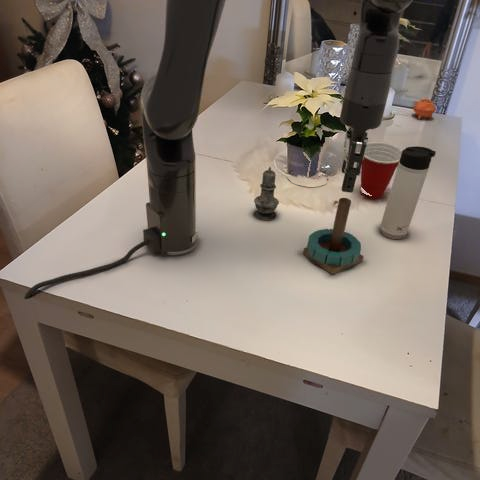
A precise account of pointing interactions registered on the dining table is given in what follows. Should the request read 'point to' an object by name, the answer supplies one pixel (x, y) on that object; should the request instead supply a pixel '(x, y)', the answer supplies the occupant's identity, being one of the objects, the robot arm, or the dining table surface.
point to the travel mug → (405, 191)
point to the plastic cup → (378, 168)
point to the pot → (424, 108)
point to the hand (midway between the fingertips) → (346, 181)
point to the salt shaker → (266, 197)
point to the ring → (331, 256)
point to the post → (336, 239)
